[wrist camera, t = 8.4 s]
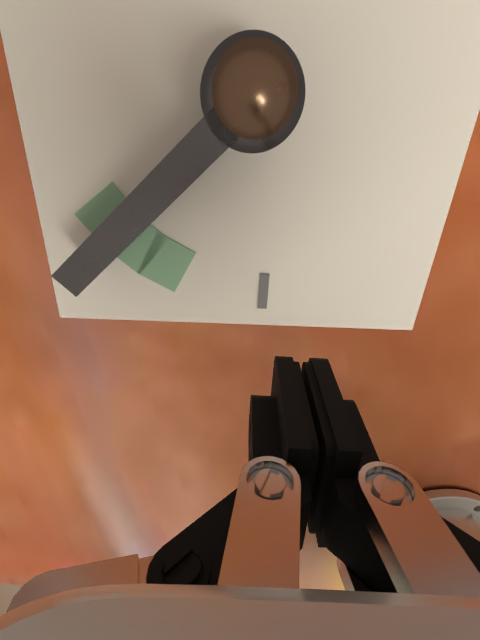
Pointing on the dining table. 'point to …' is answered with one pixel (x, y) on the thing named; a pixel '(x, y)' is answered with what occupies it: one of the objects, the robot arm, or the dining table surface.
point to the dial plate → (249, 154)
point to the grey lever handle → (204, 141)
